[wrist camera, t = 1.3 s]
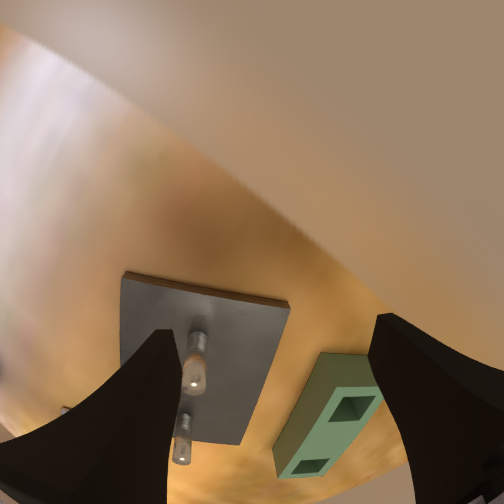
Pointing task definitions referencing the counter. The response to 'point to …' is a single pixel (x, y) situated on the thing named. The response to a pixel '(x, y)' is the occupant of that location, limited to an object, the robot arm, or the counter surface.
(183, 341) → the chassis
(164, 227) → the counter surface
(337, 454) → the green block with holes
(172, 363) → the robot arm
